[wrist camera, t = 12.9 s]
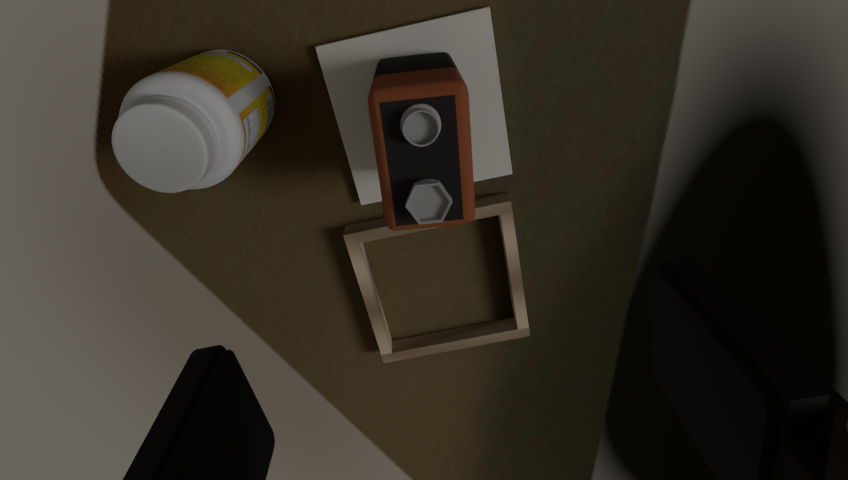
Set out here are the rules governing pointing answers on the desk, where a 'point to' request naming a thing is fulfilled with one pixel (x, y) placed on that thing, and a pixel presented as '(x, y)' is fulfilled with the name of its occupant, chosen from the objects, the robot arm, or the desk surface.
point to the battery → (422, 141)
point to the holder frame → (451, 337)
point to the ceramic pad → (454, 34)
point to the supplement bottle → (193, 121)
